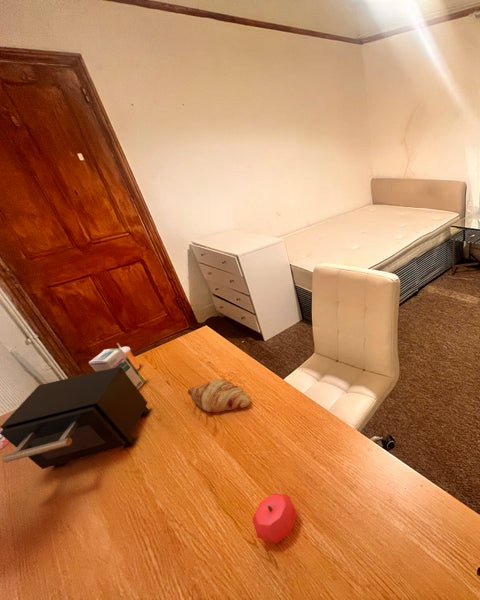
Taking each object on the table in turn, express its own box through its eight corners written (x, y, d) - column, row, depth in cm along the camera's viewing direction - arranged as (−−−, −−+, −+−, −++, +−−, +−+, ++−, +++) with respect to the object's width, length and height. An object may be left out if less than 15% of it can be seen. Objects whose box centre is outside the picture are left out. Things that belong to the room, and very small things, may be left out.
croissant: (261, 406, 93) (261, 380, 93) (236, 421, 83) (237, 392, 83) (202, 396, 98) (203, 371, 97) (173, 409, 88) (173, 382, 87)
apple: (281, 497, 67) (271, 477, 63) (308, 516, 64) (298, 496, 59) (250, 534, 61) (236, 515, 57) (277, 558, 58) (265, 539, 54)
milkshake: (140, 361, 110) (125, 339, 105) (143, 368, 107) (127, 346, 101) (125, 368, 107) (108, 346, 102) (127, 376, 104) (110, 353, 99)
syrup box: (133, 395, 96) (106, 360, 88) (115, 396, 96) (87, 361, 89) (146, 381, 101) (122, 347, 93) (128, 382, 101) (103, 348, 94)
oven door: (112, 469, 73) (76, 433, 65) (24, 495, 69) (-25, 459, 61) (126, 442, 79) (94, 406, 71) (45, 464, 75) (3, 428, 68)
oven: (134, 446, 80) (96, 402, 72) (51, 470, 76) (-1, 427, 67) (151, 408, 91) (120, 366, 82) (79, 427, 87) (38, 385, 78)
